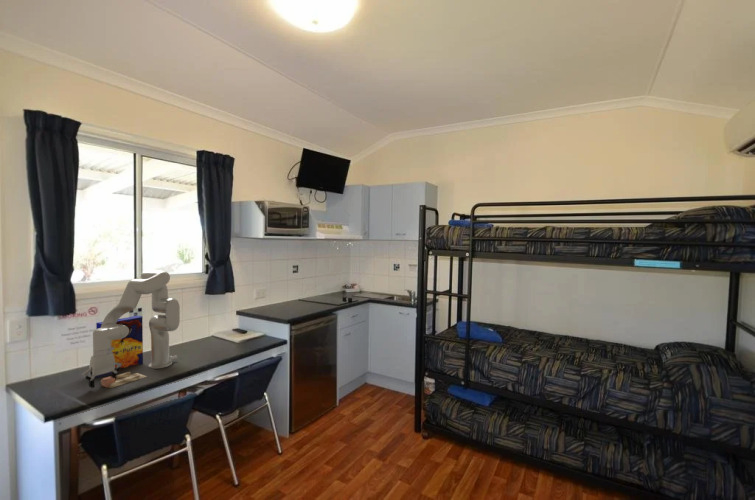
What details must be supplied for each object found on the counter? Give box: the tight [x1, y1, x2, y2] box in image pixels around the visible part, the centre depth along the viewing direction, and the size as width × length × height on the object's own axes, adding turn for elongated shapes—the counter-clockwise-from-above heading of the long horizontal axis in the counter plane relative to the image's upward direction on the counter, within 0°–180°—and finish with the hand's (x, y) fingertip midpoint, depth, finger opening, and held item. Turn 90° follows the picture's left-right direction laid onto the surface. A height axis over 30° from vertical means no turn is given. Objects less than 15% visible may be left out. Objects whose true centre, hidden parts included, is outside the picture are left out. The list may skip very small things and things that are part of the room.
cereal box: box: [95, 315, 144, 370], centre depth 213 cm, size 22×6×30 cm, turn 149°
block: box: [101, 376, 115, 388], centre depth 187 cm, size 4×5×4 cm
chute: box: [100, 371, 147, 389], centre depth 194 cm, size 18×10×3 cm, turn 151°
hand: (103, 383), depth 185 cm, fingers open, 9 cm apart
